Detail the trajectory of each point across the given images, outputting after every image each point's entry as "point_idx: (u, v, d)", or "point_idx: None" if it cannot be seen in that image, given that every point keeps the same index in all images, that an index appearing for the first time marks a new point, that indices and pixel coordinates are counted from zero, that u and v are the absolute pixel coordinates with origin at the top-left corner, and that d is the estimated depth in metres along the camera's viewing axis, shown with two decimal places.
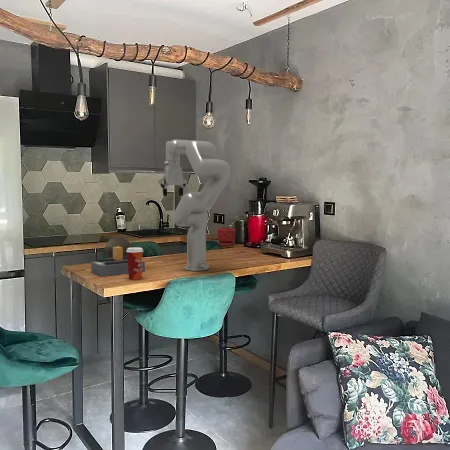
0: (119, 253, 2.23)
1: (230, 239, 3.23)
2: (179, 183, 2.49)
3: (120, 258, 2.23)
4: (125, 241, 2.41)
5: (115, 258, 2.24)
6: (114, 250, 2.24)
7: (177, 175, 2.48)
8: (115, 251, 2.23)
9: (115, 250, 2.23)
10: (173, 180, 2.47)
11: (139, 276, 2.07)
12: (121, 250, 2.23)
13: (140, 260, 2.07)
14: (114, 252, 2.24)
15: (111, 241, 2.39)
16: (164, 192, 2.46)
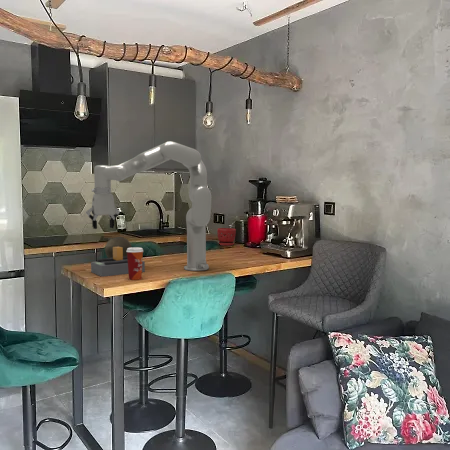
0: (119, 253, 2.23)
1: (230, 239, 3.23)
2: (110, 213, 2.18)
3: (120, 258, 2.23)
4: (125, 241, 2.41)
5: (115, 258, 2.24)
6: (114, 250, 2.24)
7: (108, 204, 2.17)
8: (115, 251, 2.23)
9: (115, 250, 2.23)
10: (102, 210, 2.16)
11: (139, 276, 2.07)
12: (121, 250, 2.23)
13: (140, 260, 2.07)
14: (114, 252, 2.24)
15: (111, 241, 2.39)
16: (93, 225, 2.16)
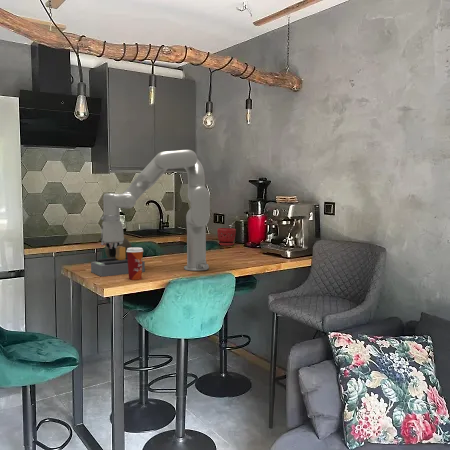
0: (122, 252, 2.23)
1: (230, 239, 3.23)
2: (119, 240, 2.22)
3: (123, 258, 2.24)
4: (125, 241, 2.41)
5: (118, 258, 2.24)
6: (117, 250, 2.25)
7: (117, 231, 2.21)
8: (118, 251, 2.24)
9: (118, 250, 2.24)
10: (111, 237, 2.19)
11: (139, 276, 2.07)
12: (124, 250, 2.24)
13: (140, 260, 2.07)
14: (117, 251, 2.25)
15: None
16: (110, 253, 2.22)
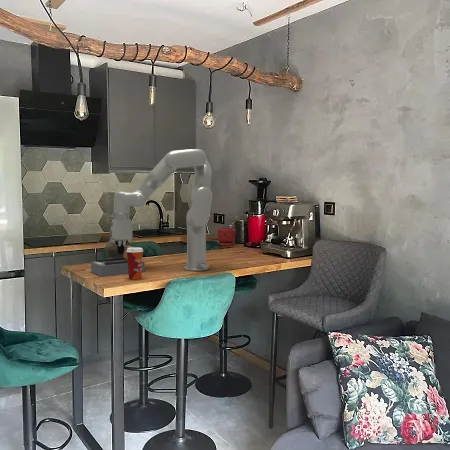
0: None
1: (230, 239, 3.23)
2: (128, 238, 2.25)
3: None
4: None
5: (126, 257, 2.27)
6: (125, 249, 2.27)
7: (126, 229, 2.24)
8: (126, 250, 2.26)
9: (126, 250, 2.26)
10: (121, 235, 2.22)
11: (139, 276, 2.07)
12: None
13: (140, 260, 2.07)
14: (125, 251, 2.27)
15: None
16: (118, 250, 2.24)
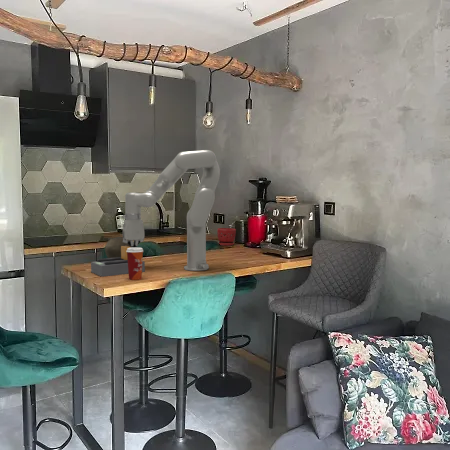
0: None
1: (230, 239, 3.23)
2: (140, 238, 2.28)
3: None
4: None
5: (123, 257, 2.26)
6: (122, 249, 2.27)
7: (138, 229, 2.27)
8: (123, 250, 2.26)
9: (124, 250, 2.25)
10: (133, 235, 2.26)
11: (139, 276, 2.07)
12: None
13: (140, 260, 2.07)
14: (122, 251, 2.27)
15: (111, 241, 2.39)
16: None
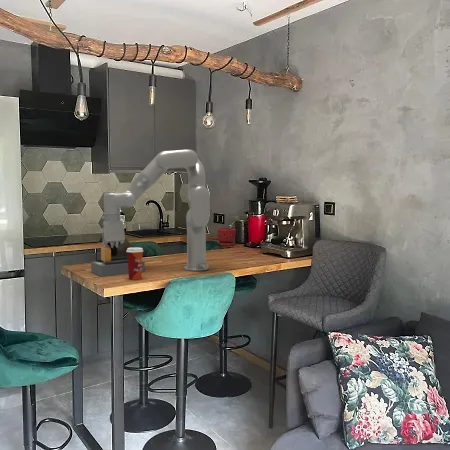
0: (107, 254, 2.19)
1: (230, 239, 3.23)
2: (120, 239, 2.22)
3: (108, 259, 2.20)
4: (125, 241, 2.41)
5: (103, 259, 2.20)
6: (102, 251, 2.21)
7: (118, 230, 2.21)
8: (103, 252, 2.20)
9: (103, 251, 2.19)
10: (112, 236, 2.20)
11: (139, 276, 2.07)
12: (109, 251, 2.20)
13: (140, 260, 2.07)
14: (102, 253, 2.21)
15: None
16: (111, 252, 2.22)
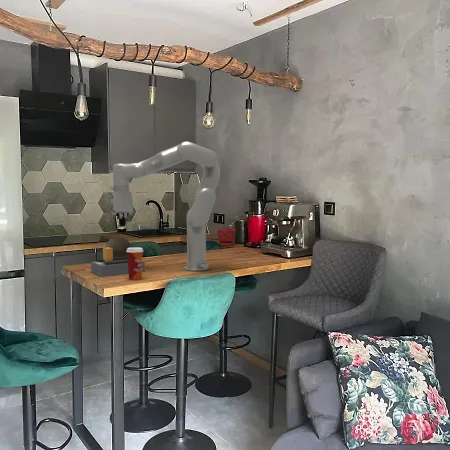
0: (109, 253, 2.20)
1: (230, 239, 3.23)
2: (128, 210, 2.25)
3: (110, 259, 2.20)
4: (125, 241, 2.41)
5: (105, 259, 2.21)
6: (104, 251, 2.21)
7: (126, 201, 2.24)
8: (105, 252, 2.20)
9: (105, 251, 2.20)
10: (121, 207, 2.22)
11: (139, 276, 2.07)
12: (111, 251, 2.20)
13: (140, 260, 2.07)
14: (104, 252, 2.21)
15: (111, 241, 2.39)
16: (120, 222, 2.25)
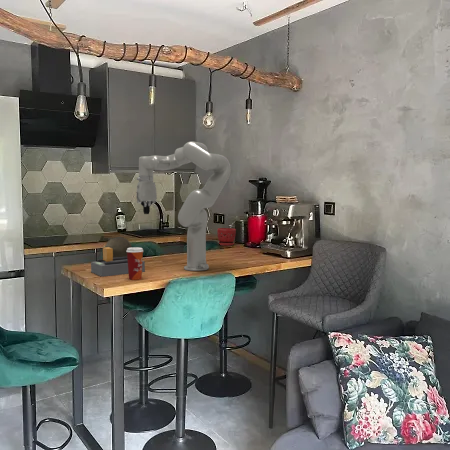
0: (109, 253, 2.20)
1: (230, 239, 3.23)
2: (152, 199, 2.45)
3: (110, 259, 2.20)
4: (125, 241, 2.41)
5: (105, 259, 2.21)
6: (104, 251, 2.21)
7: (151, 191, 2.44)
8: (105, 252, 2.20)
9: (105, 251, 2.20)
10: (146, 196, 2.43)
11: (139, 276, 2.07)
12: (111, 251, 2.20)
13: (140, 260, 2.07)
14: (104, 252, 2.21)
15: (111, 241, 2.39)
16: (144, 210, 2.45)
